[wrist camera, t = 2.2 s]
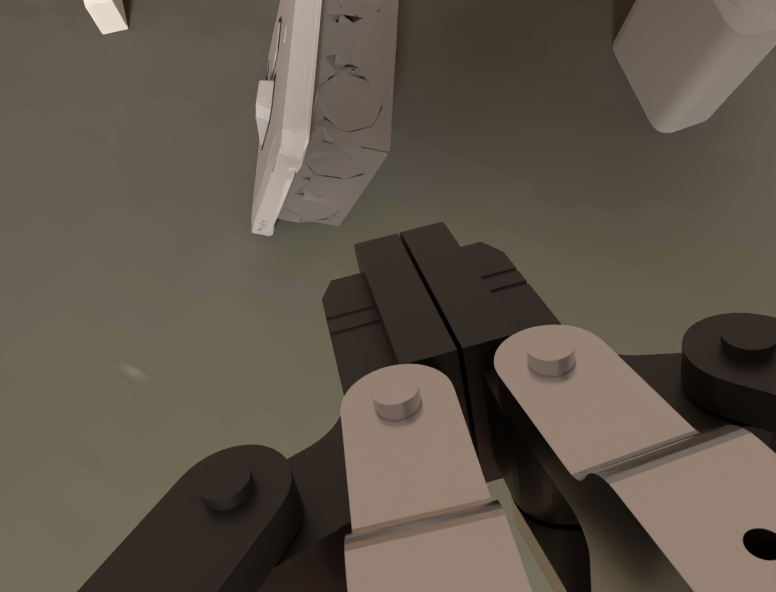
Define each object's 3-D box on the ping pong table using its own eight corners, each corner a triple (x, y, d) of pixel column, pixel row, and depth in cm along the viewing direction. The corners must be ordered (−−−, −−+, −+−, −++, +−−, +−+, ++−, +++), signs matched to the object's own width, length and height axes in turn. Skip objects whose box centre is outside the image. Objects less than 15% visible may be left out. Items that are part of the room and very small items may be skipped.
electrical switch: (271, 51, 32) (254, -110, 23) (381, 63, 33) (406, -91, 24) (250, 241, 30) (222, 143, 21) (369, 251, 30) (391, 159, 21)
